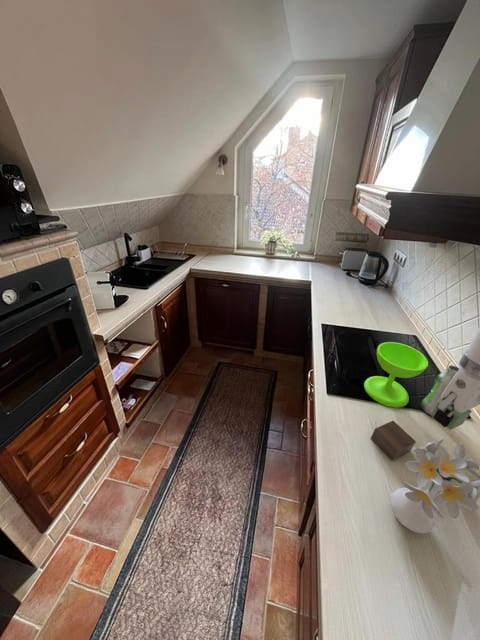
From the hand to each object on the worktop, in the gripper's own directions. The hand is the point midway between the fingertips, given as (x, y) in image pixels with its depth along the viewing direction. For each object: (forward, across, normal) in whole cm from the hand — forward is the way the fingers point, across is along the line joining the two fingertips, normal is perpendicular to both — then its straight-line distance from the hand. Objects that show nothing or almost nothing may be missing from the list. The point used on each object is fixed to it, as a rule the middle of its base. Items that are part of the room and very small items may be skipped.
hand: (447, 418), depth 66 cm
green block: (0, 0, 0) cm, 0 cm away
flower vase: (+19, -17, -9) cm, 27 cm away
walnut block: (+19, -4, +7) cm, 21 cm away
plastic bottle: (+19, +21, +11) cm, 31 cm away
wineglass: (+19, +14, +24) cm, 34 cm away
